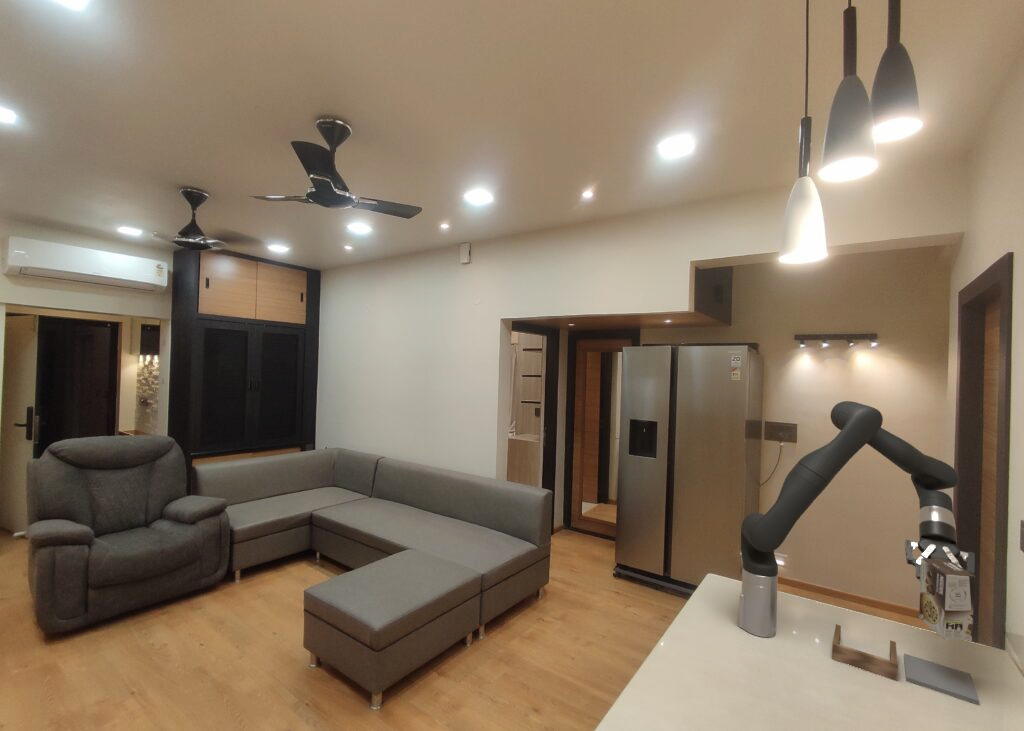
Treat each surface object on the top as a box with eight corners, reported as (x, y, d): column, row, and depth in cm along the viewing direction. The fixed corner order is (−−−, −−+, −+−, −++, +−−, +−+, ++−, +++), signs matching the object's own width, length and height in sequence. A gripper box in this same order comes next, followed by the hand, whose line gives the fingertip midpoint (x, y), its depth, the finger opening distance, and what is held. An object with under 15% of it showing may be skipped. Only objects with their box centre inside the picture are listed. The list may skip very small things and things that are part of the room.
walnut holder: (831, 659, 125) (832, 644, 125) (835, 638, 136) (835, 624, 136) (897, 681, 117) (897, 665, 117) (895, 656, 127) (895, 642, 127)
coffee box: (973, 641, 113) (977, 576, 112) (943, 639, 114) (946, 574, 113) (945, 619, 122) (948, 558, 121) (917, 617, 123) (920, 556, 122)
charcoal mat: (906, 680, 117) (906, 676, 117) (903, 657, 127) (903, 653, 127) (979, 705, 109) (979, 700, 109) (970, 677, 119) (970, 673, 119)
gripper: (903, 514, 131) (904, 569, 122) (975, 526, 123) (982, 587, 113) (902, 528, 136) (902, 583, 126) (971, 540, 127) (977, 600, 117)
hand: (940, 584), depth 120 cm, fingers closed on coffee box, 6 cm apart
